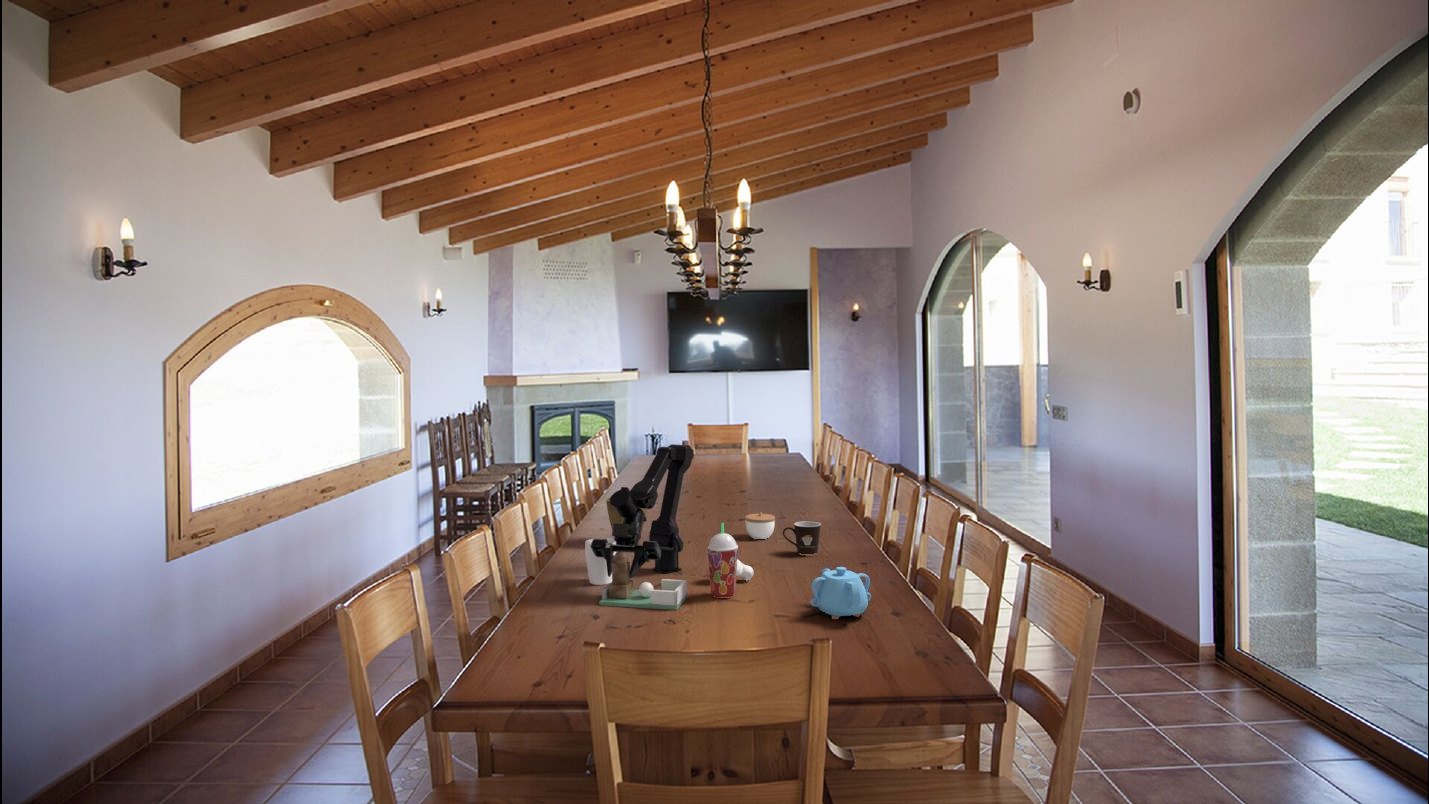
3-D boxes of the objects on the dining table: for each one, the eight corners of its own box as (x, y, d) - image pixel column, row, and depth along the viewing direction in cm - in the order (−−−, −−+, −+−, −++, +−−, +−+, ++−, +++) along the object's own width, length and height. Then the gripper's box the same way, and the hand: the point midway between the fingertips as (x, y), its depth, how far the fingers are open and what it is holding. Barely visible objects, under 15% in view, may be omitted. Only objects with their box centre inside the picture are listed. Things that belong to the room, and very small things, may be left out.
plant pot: (647, 548, 272) (646, 502, 271) (603, 548, 272) (602, 502, 271) (651, 538, 286) (650, 494, 286) (609, 538, 287) (609, 494, 286)
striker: (608, 597, 213) (608, 554, 213) (616, 590, 219) (615, 548, 218) (626, 598, 212) (626, 554, 212) (633, 591, 218) (632, 549, 217)
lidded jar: (743, 540, 282) (743, 514, 281) (747, 534, 292) (747, 508, 292) (773, 541, 280) (773, 515, 280) (776, 535, 291) (776, 509, 290)
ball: (648, 593, 217) (648, 579, 217) (656, 597, 214) (656, 582, 214) (635, 596, 215) (635, 582, 214) (644, 600, 212) (643, 585, 211)
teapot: (888, 622, 196) (888, 574, 195) (826, 629, 191) (826, 580, 191) (852, 598, 215) (852, 555, 215) (794, 604, 211) (794, 560, 210)
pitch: (599, 605, 211) (599, 588, 211) (614, 591, 223) (614, 576, 222) (676, 610, 206) (676, 592, 206) (687, 596, 218) (687, 579, 218)
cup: (610, 587, 227) (610, 545, 227) (580, 585, 229) (580, 544, 228) (620, 578, 236) (620, 538, 235) (591, 576, 238) (591, 536, 237)
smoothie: (742, 592, 221) (741, 521, 220) (733, 601, 213) (732, 527, 212) (713, 590, 224) (713, 519, 222) (703, 598, 216) (702, 525, 215)
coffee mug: (824, 553, 264) (825, 523, 263) (813, 558, 257) (813, 528, 256) (793, 548, 270) (793, 519, 270) (781, 554, 263) (781, 524, 262)
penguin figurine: (713, 549, 235) (754, 552, 235) (711, 577, 235) (751, 581, 235) (713, 554, 228) (755, 558, 229) (711, 583, 229) (752, 587, 229)
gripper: (592, 509, 220) (578, 559, 210) (657, 512, 216) (646, 562, 206) (602, 531, 228) (589, 580, 218) (665, 534, 225) (655, 584, 214)
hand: (619, 576), depth 214 cm, fingers open, 6 cm apart
